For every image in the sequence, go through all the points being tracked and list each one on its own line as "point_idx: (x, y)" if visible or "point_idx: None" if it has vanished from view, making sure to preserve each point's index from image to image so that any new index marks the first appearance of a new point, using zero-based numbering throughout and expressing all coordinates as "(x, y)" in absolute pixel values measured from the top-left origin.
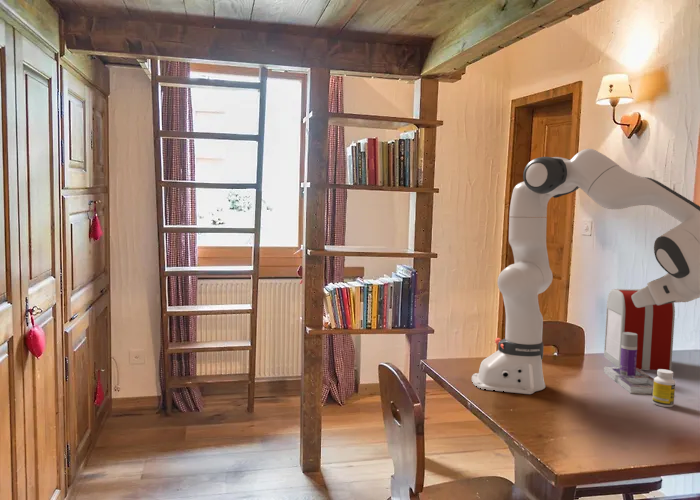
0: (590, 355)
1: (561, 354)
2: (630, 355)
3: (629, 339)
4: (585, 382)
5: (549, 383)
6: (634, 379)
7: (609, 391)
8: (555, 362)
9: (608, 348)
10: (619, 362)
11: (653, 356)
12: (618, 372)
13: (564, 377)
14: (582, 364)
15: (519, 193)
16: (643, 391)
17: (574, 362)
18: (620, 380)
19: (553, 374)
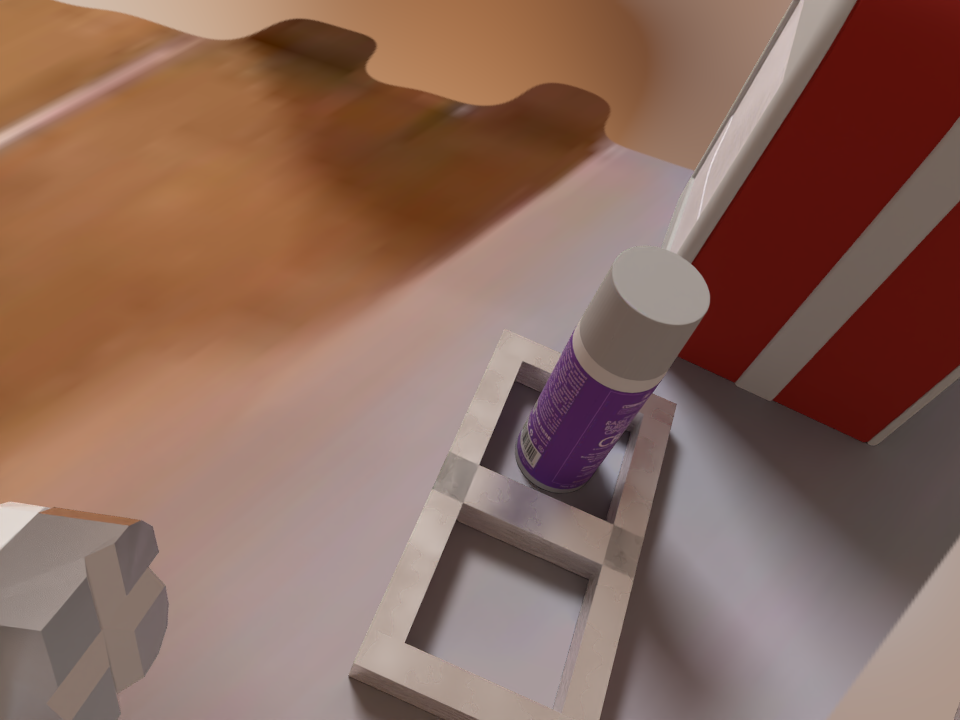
0: (624, 166)
1: (496, 111)
2: (586, 405)
3: (618, 329)
4: (246, 429)
5: (7, 370)
6: (522, 534)
7: (245, 601)
8: (370, 166)
9: (696, 184)
10: None
11: (828, 364)
12: None
13: (202, 329)
14: (484, 231)
15: None
16: (428, 706)
17: (467, 199)
18: (416, 523)
19: (187, 276)
